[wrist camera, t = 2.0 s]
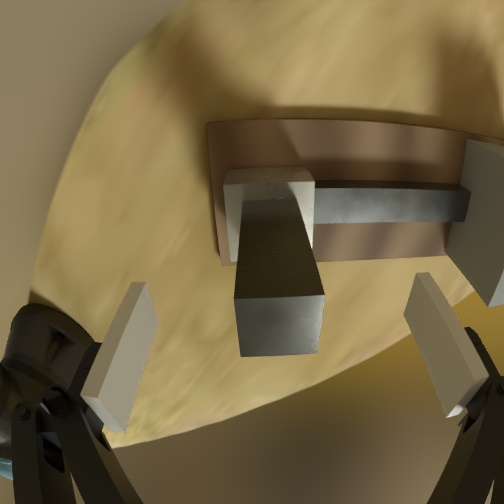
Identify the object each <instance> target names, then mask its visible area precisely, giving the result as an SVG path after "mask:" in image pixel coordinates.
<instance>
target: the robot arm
mask: <svg viewBox="0 0 504 504" xmlns="http://www.w3.org/2000/svg"><path fill="white" fill-rule="evenodd" d="M404 317H405V319H406V321H407V323H408V325H409V327H410V330H411V332H412V334H413V336H414V339H415V341H416V343H417V345H418V348H419V350H420V352H421V355H422V357H423V360H424V362H425V364H426V367H427V369H428V372H429V374H430V377H431V379H432V382H433V385H434V387H435V390H436V392H437V395H438V397H439V401H440V403H441V406H442V409H443V411H444V414H445V417H446V418H448V417H451V416H455V415H458V414H460V413H461V412H462V411H463V409H464V408H465V407H466V408H467V410H468V413H467V414H466V415H465V416H464V417H463V419H462V420H461V421H460V422H459V424H458V426H460V425H461V424H462V423H463V424H462V427H461V430H460V432H459V435H458V437H457V440H456V443H455V445H454V448H453V450H452V452H451V455H450V457H449V459H448V462H447V464H446V466H445V468H444V471H443V473H442V475H441V477H440V479H439V481H438V483H437V485H436V487H435V489H434V491H433V493H432V495H431V497H430V498H429V501H428V502H427V504H485V501H486V499H487V496H488V494H489V491H490V488H491V486H492V483H493V480H494V485H493V492H492V497H491V503H490V504H504V376H500V374H499V373H498V371H497V369H496V367H495V365H494V363H493V361H492V359H491V358H490V356H489V354H488V352H487V351H486V348H485V346H484V345H483V344H482V341H481V339H480V338H479V336H478V334H477V333H476V332H475V331H474V330H473V329H471V328H470V327H465V328H463V326H462V324H461V323H460V321H459V319H458V318H457V316H456V314H455V312H454V311H453V309H452V307H451V306H450V304H449V303H448V301H447V299H446V298H445V296H444V295H443V293H442V291H441V290H440V288H439V287H438V285H437V284H436V282H435V281H434V279H433V278H432V276H431V275H430V273H429V272H425V273H416V275H415V279H414V282H413V286H412V289H411V293H410V296H409V299H408V302H407V305H406V309H405V312H404ZM158 325H159V322H158V319H157V316H156V313H155V310H154V307H153V304H152V301H151V297H150V294H149V291H148V288H147V284H146V282H132V283H131V285H130V287H129V289H128V291H127V293H126V295H125V297H124V299H123V301H122V303H121V305H120V307H119V309H118V311H117V313H116V315H115V317H114V319H113V321H112V323H111V325H110V327H109V330H108V332H107V334H106V336H105V338H104V340H103V343H99V342H94V341H93V340H92V339H91V337H90V336H89V335H88V334H87V333H86V332H85V331H84V330H83V329H82V328H81V327H80V326H79V325H78V324H76V323H75V322H74V321H73V320H71V319H70V318H68V317H67V316H65V315H64V314H62V313H60V312H58V311H56V310H54V309H52V308H50V307H47V306H43V305H39V304H28V305H25V306H23V307H22V308H21V309H20V310H19V311H18V313H17V314H16V316H15V317H14V319H13V321H12V323H11V328H10V330H11V331H10V334H9V337H8V341H7V345H6V349H5V353H4V357H3V359H2V360H1V362H0V475H2V476H4V477H6V478H8V479H11V480H13V487H14V497H15V504H76V499H75V494H74V489H73V484H72V479H71V474H72V476H73V478H74V480H75V483H76V485H77V487H78V490H79V492H80V494H81V496H82V498H83V500H84V502H85V504H143V502H142V500H141V499H140V497H139V496H138V494H137V493H136V491H135V489H134V488H133V486H132V485H131V483H130V481H129V479H128V478H127V476H126V474H125V473H124V471H123V469H122V467H121V465H120V464H119V462H118V460H117V458H116V456H115V454H114V452H113V450H112V449H111V447H110V445H109V443H108V441H107V439H106V437H105V435H104V433H103V432H102V429H103V425H105V426H106V427H107V428H108V429H109V430H110V431H115V432H121V433H126V430H127V426H128V422H129V419H130V415H131V412H132V408H133V405H134V401H135V398H136V394H137V391H138V388H139V384H140V381H141V378H142V374H143V371H144V368H145V365H146V362H147V358H148V355H149V352H150V349H151V346H152V343H153V340H154V337H155V334H156V331H157V328H158ZM70 471H71V473H70ZM494 477H495V478H494Z"/></svg>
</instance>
